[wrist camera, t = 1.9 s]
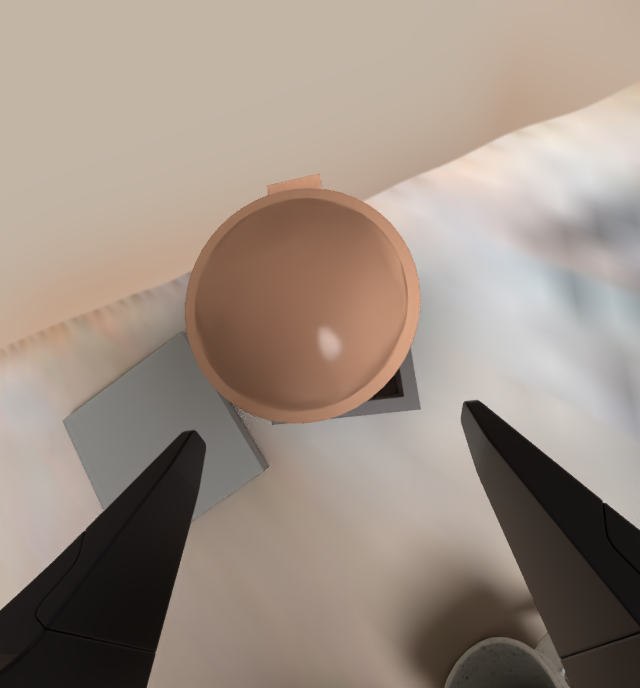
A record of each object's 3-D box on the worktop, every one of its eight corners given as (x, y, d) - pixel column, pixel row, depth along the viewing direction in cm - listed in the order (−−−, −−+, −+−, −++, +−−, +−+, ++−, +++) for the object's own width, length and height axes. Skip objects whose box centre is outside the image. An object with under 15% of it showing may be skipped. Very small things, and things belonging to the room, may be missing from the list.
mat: (268, 466, 20) (263, 470, 19) (139, 556, 21) (128, 565, 20) (189, 333, 22) (181, 331, 22) (75, 419, 23) (62, 420, 22)
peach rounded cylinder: (391, 388, 20) (441, 409, 7) (299, 399, 20) (191, 434, 8) (373, 273, 21) (387, 105, 8) (287, 288, 22) (176, 158, 9)
